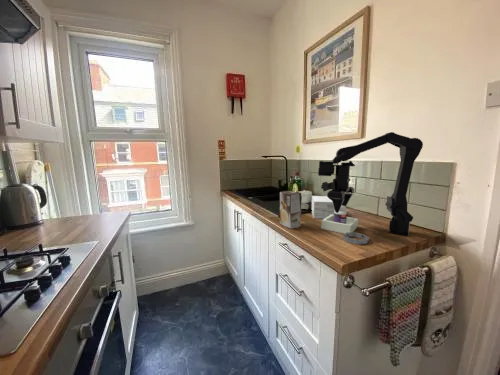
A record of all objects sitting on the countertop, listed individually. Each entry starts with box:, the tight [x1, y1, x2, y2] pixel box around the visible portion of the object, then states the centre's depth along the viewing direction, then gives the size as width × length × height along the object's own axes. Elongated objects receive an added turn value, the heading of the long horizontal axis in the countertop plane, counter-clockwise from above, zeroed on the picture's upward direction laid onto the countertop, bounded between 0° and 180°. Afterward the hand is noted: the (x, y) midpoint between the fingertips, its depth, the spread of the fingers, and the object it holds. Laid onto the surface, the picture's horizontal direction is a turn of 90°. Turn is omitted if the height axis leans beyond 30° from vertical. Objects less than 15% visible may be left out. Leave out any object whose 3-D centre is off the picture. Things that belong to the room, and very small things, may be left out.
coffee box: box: [279, 190, 302, 230], centre depth 104 cm, size 9×6×16 cm
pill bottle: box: [334, 205, 348, 224], centre depth 100 cm, size 5×5×10 cm
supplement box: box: [310, 195, 335, 220], centre depth 122 cm, size 17×13×9 cm
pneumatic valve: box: [296, 189, 315, 210], centre depth 134 cm, size 6×12×12 cm, turn 111°
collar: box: [342, 231, 370, 245], centre depth 87 cm, size 9×9×2 cm
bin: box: [321, 214, 359, 235], centre depth 101 cm, size 12×12×4 cm
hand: (340, 210), depth 100 cm, fingers open, 9 cm apart
